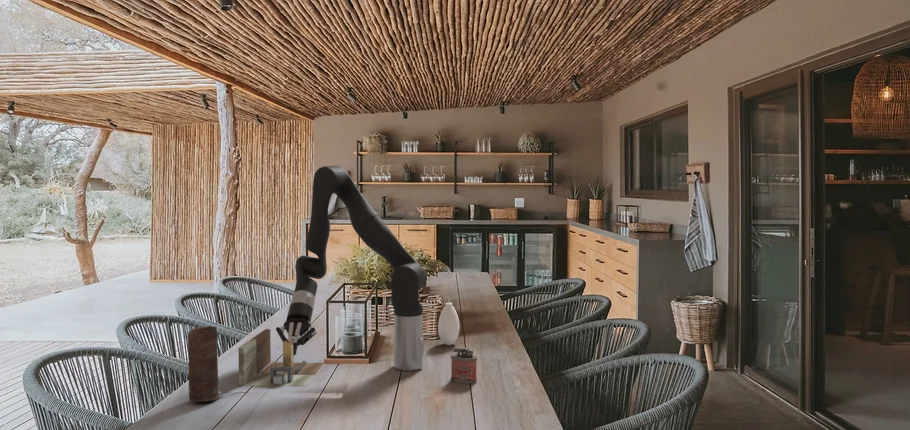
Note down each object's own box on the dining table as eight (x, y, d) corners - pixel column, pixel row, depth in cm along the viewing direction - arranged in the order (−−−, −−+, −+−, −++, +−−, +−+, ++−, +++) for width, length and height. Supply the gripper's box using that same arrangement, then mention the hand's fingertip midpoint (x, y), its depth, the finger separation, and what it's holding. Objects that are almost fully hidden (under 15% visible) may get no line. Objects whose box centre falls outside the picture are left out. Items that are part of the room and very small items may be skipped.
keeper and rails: (307, 364, 185) (307, 351, 185) (290, 382, 168) (290, 368, 168) (288, 364, 185) (288, 351, 185) (270, 382, 169) (270, 368, 168)
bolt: (293, 372, 177) (293, 340, 176) (281, 384, 166) (281, 350, 165) (285, 372, 177) (285, 340, 176) (273, 384, 166) (273, 350, 165)
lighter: (478, 380, 174) (478, 347, 174) (475, 384, 171) (475, 350, 171) (452, 377, 177) (453, 345, 177) (449, 381, 174) (449, 348, 173)
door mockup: (324, 366, 187) (324, 329, 187) (305, 390, 165) (304, 348, 165) (266, 365, 188) (265, 329, 187) (239, 389, 166) (238, 348, 165)
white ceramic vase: (435, 346, 212) (435, 297, 211) (442, 340, 219) (442, 293, 218) (455, 348, 209) (455, 298, 208) (462, 342, 217) (462, 294, 216)
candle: (207, 407, 152) (206, 331, 152) (182, 405, 154) (181, 330, 153) (224, 396, 160) (223, 325, 159) (200, 394, 161) (199, 323, 160)
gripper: (278, 301, 186) (265, 349, 174) (319, 301, 186) (309, 350, 174) (284, 313, 192) (271, 361, 180) (323, 314, 191) (314, 362, 180)
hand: (290, 355), depth 177 cm, fingers closed
